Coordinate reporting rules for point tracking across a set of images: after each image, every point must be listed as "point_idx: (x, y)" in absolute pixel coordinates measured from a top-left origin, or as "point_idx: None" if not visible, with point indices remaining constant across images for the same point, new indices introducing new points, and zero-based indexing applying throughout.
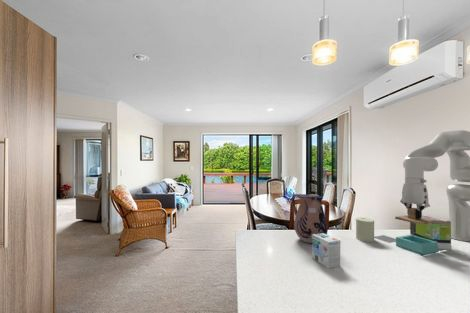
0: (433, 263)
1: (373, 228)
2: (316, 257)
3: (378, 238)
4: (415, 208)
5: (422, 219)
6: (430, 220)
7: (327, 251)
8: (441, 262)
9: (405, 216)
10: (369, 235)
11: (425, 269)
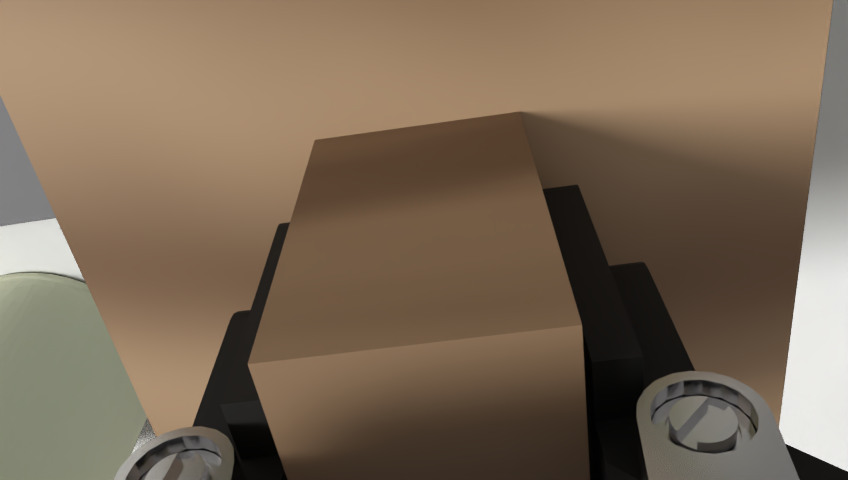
0: (807, 231)
1: (73, 464)
2: None
3: (15, 195)
4: (431, 465)
5: (603, 152)
6: (791, 16)
7: None
8: (838, 120)
9: (170, 287)
10: (130, 445)
11: (836, 409)
